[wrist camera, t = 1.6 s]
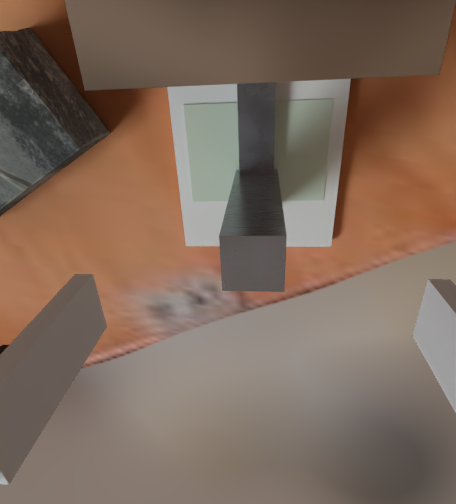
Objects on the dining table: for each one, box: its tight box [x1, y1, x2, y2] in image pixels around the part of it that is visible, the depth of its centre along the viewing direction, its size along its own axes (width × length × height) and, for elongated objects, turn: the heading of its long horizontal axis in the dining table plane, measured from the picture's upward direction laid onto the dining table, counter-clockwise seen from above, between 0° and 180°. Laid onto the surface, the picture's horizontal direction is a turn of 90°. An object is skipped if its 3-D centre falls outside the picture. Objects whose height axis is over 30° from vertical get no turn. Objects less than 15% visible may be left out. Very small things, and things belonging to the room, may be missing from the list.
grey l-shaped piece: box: [219, 82, 287, 292], centre depth 17 cm, size 16×5×11 cm, turn 3°
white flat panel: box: [167, 79, 351, 247], centre depth 22 cm, size 27×12×1 cm, turn 3°
